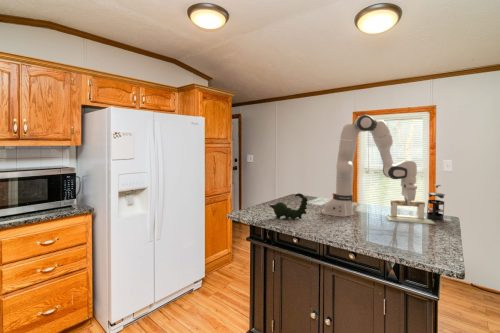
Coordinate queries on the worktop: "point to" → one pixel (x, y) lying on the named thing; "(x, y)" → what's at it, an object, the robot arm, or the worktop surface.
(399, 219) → the mat
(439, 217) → the french press
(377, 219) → the worktop surface
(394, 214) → the rack
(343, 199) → the robot arm
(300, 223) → the worktop surface
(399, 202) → the rail
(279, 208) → the toy figurine
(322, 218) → the worktop surface
